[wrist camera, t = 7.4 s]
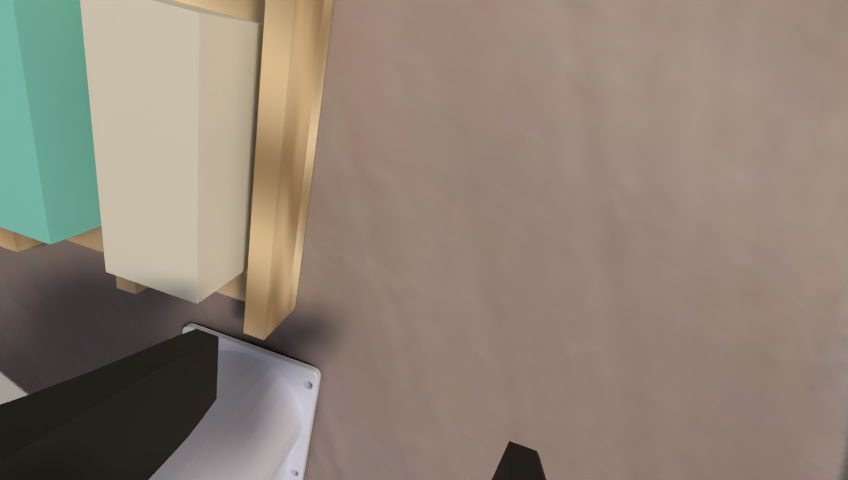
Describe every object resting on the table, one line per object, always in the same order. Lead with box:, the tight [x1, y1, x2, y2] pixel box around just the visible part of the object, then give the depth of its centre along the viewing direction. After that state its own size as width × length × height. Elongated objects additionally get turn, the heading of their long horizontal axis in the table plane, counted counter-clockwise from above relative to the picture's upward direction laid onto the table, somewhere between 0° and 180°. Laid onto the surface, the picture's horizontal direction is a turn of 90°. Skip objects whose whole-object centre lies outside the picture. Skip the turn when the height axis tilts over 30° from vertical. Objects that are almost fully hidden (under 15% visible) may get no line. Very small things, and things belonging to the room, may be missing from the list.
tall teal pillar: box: [0, 0, 101, 245], centre depth 16 cm, size 10×4×4 cm, turn 167°
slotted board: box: [0, 0, 334, 340], centre depth 17 cm, size 15×14×3 cm
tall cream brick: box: [80, 0, 264, 304], centre depth 16 cm, size 10×4×4 cm, turn 167°
